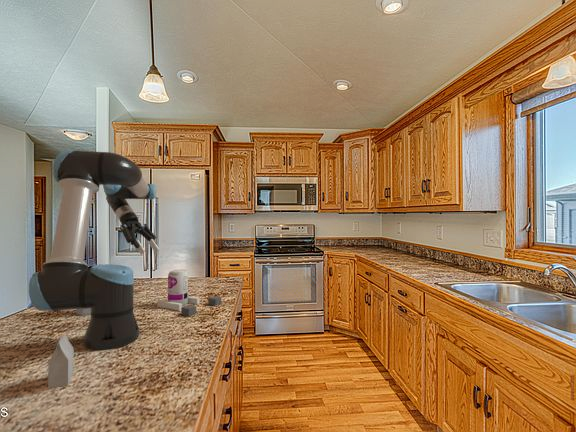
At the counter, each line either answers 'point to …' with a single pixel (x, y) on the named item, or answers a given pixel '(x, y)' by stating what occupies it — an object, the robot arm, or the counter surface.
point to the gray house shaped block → (61, 364)
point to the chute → (188, 309)
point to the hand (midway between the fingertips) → (150, 251)
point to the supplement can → (178, 286)
